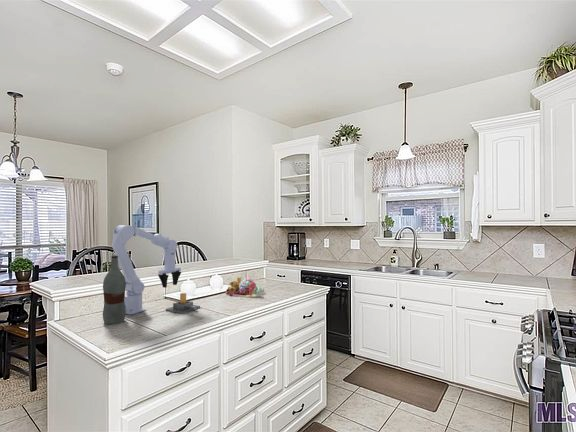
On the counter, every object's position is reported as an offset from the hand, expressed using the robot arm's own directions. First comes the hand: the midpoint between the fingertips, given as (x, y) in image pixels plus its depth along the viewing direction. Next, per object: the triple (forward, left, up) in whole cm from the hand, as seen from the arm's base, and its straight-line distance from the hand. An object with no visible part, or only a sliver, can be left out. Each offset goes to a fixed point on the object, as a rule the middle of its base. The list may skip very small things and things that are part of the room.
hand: (169, 286), depth 181 cm
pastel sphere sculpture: (+41, -23, -10) cm, 49 cm away
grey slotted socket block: (-5, -14, -10) cm, 18 cm away
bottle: (-34, 0, -10) cm, 35 cm away
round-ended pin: (-5, -14, -9) cm, 17 cm away
